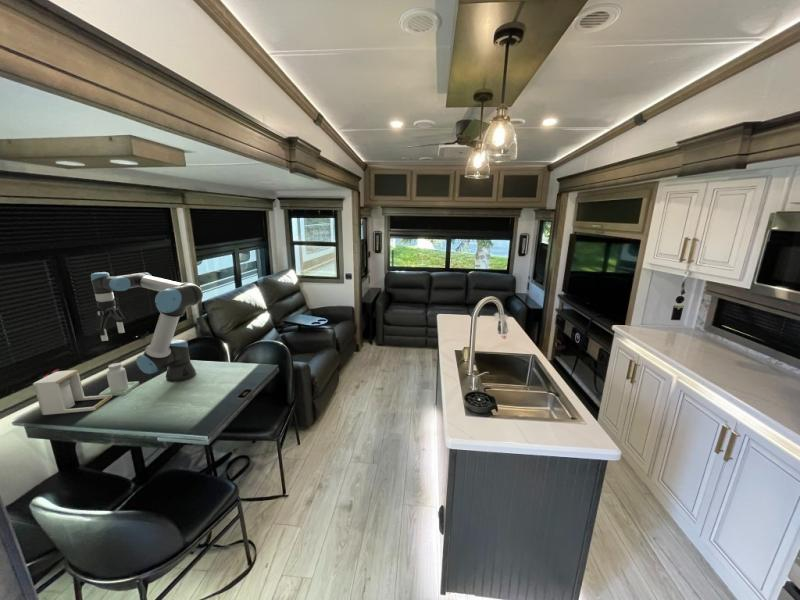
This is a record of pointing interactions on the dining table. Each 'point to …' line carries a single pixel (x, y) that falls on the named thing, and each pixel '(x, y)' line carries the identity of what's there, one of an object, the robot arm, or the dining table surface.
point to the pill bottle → (117, 378)
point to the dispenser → (63, 393)
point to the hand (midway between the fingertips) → (113, 336)
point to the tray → (131, 386)
